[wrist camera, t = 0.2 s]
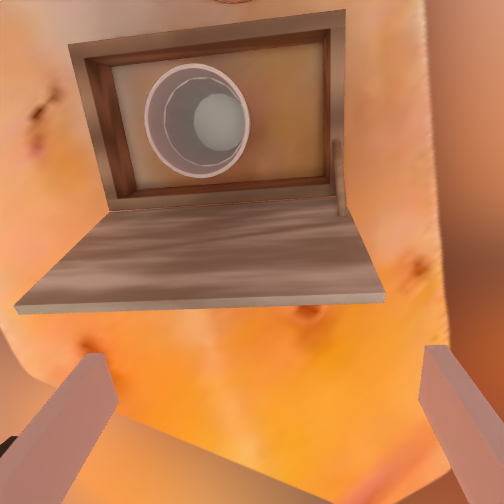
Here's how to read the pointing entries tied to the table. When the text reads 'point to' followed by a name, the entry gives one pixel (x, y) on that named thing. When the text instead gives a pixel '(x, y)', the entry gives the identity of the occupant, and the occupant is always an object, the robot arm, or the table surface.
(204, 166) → the cup
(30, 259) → the table surface
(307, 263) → the hinged wooden box
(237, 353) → the table surface
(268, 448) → the table surface
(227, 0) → the saucer
